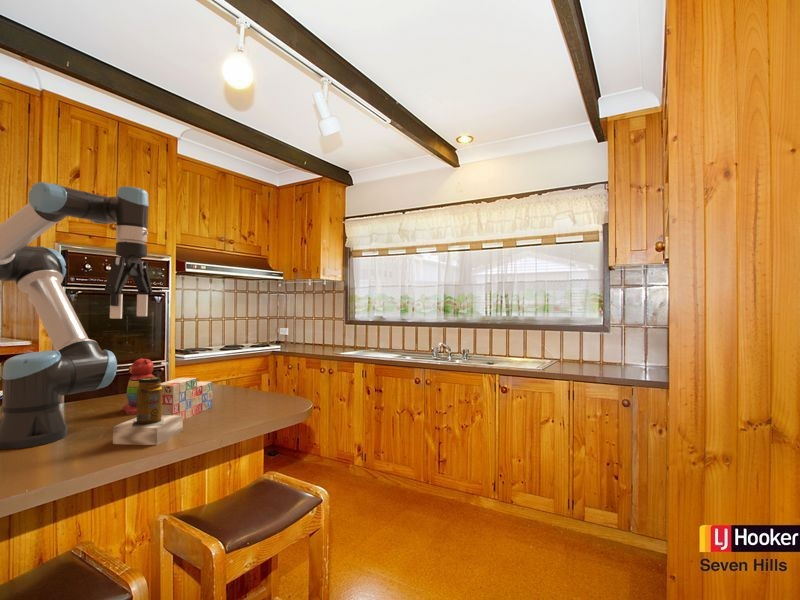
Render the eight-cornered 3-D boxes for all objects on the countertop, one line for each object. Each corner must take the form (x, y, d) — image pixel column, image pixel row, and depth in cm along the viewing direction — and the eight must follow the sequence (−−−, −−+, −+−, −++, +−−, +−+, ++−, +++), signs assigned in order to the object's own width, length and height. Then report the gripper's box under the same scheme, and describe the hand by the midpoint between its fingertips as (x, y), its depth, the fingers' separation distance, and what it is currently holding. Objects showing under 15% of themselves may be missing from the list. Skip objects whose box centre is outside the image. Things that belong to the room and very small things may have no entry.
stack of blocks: (196, 406, 151) (196, 372, 151) (212, 407, 150) (213, 373, 150) (154, 423, 130) (154, 384, 130) (172, 424, 129) (173, 384, 129)
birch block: (112, 445, 111) (113, 426, 111) (142, 431, 123) (143, 414, 123) (156, 446, 110) (157, 427, 110) (182, 432, 122) (182, 415, 122)
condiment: (163, 416, 121) (164, 375, 121) (163, 424, 113) (163, 380, 113) (134, 420, 117) (134, 377, 117) (131, 428, 110) (131, 382, 110)
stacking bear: (121, 409, 146) (121, 358, 146) (154, 404, 153) (154, 356, 153) (126, 415, 138) (127, 361, 138) (161, 410, 145) (162, 359, 145)
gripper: (121, 236, 107) (118, 319, 107) (165, 248, 132) (163, 315, 132) (89, 235, 107) (87, 319, 107) (140, 247, 131) (138, 315, 132)
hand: (129, 317), depth 119 cm, fingers open, 13 cm apart
